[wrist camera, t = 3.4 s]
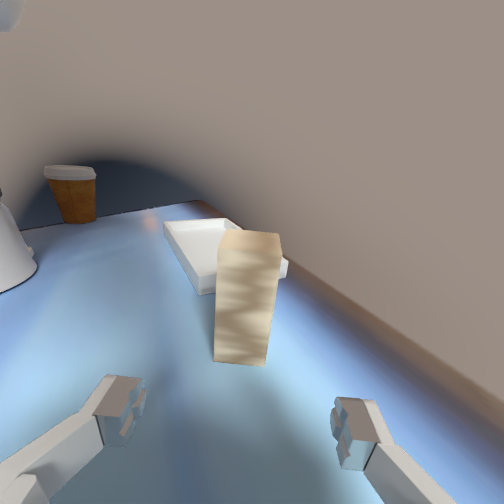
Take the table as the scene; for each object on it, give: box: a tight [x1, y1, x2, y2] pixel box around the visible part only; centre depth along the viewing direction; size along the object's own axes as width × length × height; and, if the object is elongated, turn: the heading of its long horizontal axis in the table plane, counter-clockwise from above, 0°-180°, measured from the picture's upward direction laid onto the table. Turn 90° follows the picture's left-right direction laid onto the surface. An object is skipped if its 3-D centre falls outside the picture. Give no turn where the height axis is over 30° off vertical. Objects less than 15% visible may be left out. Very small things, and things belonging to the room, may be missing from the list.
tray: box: [163, 218, 288, 296], centre depth 46 cm, size 26×15×3 cm, turn 29°
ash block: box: [213, 228, 282, 367], centre depth 23 cm, size 5×5×12 cm
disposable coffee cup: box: [43, 165, 96, 224], centre depth 54 cm, size 10×10×12 cm
